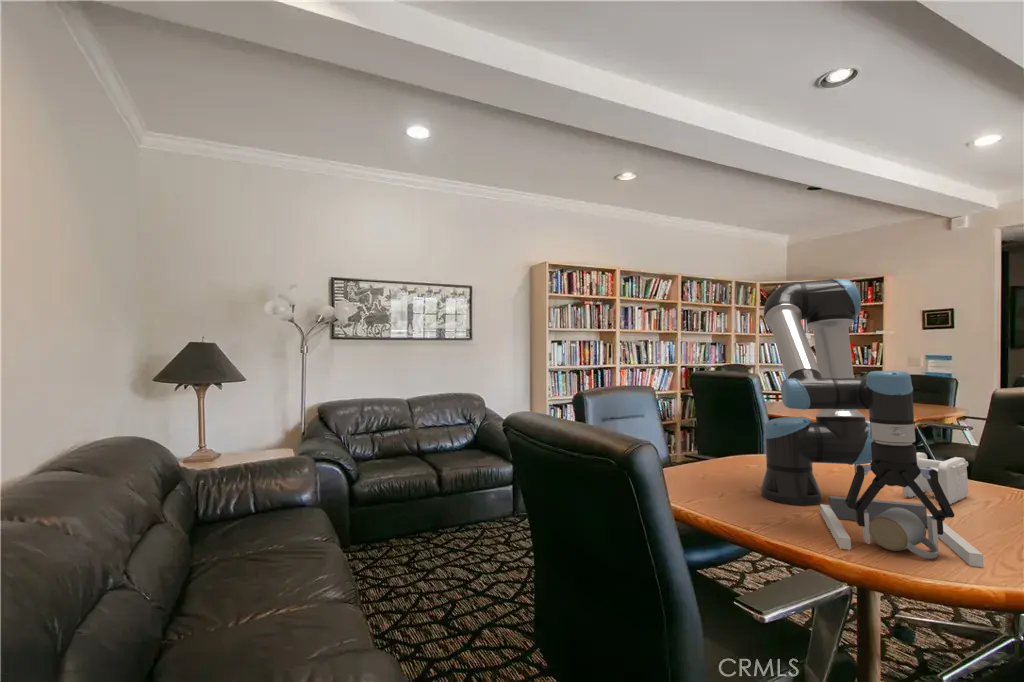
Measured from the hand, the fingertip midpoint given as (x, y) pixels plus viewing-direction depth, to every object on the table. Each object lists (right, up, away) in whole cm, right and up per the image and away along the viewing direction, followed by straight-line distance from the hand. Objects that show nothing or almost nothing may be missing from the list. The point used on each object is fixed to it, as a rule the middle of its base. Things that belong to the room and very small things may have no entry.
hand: (899, 545), depth 98 cm
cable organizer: (+38, -1, +31) cm, 49 cm away
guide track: (+3, -1, +6) cm, 7 cm away
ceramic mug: (0, -1, -1) cm, 1 cm away
